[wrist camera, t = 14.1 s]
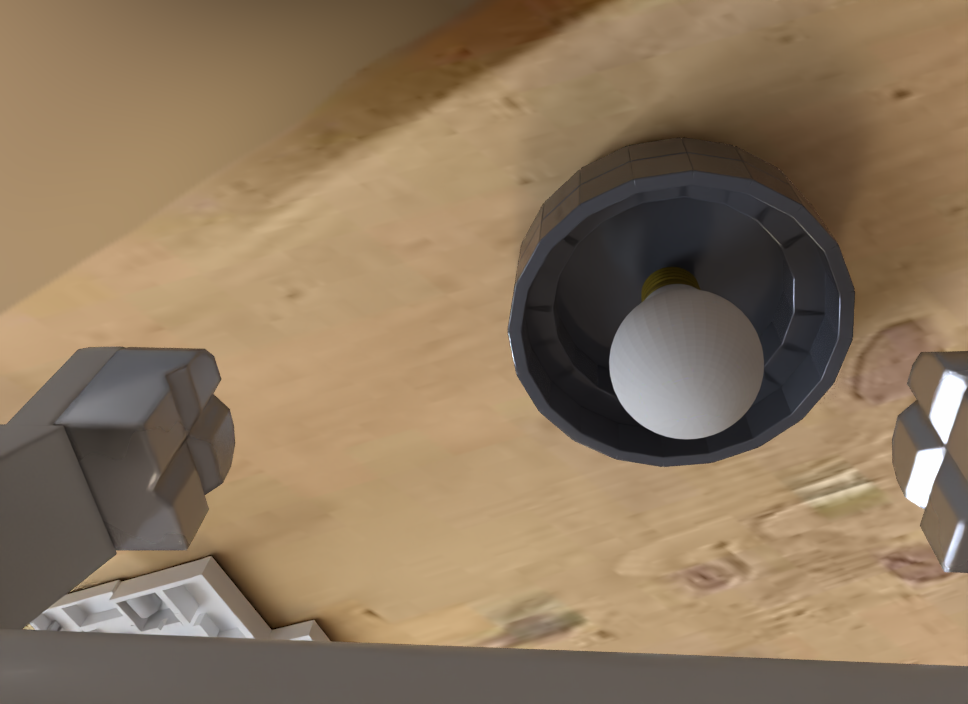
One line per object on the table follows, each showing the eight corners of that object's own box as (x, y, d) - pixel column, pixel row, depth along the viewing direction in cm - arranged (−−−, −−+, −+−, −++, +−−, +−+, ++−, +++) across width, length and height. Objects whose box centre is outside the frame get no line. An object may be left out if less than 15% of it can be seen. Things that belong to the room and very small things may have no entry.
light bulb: (757, 296, 37) (809, 424, 29) (649, 359, 40) (668, 493, 31) (689, 200, 35) (723, 307, 27) (580, 272, 38) (579, 391, 29)
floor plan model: (467, 703, 56) (464, 729, 55) (185, 757, 64) (175, 782, 62) (337, 515, 48) (328, 539, 47) (31, 602, 56) (14, 625, 54)
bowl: (470, 334, 41) (457, 389, 37) (609, 76, 34) (613, 107, 29) (710, 444, 43) (724, 508, 39) (890, 223, 36) (932, 272, 31)
